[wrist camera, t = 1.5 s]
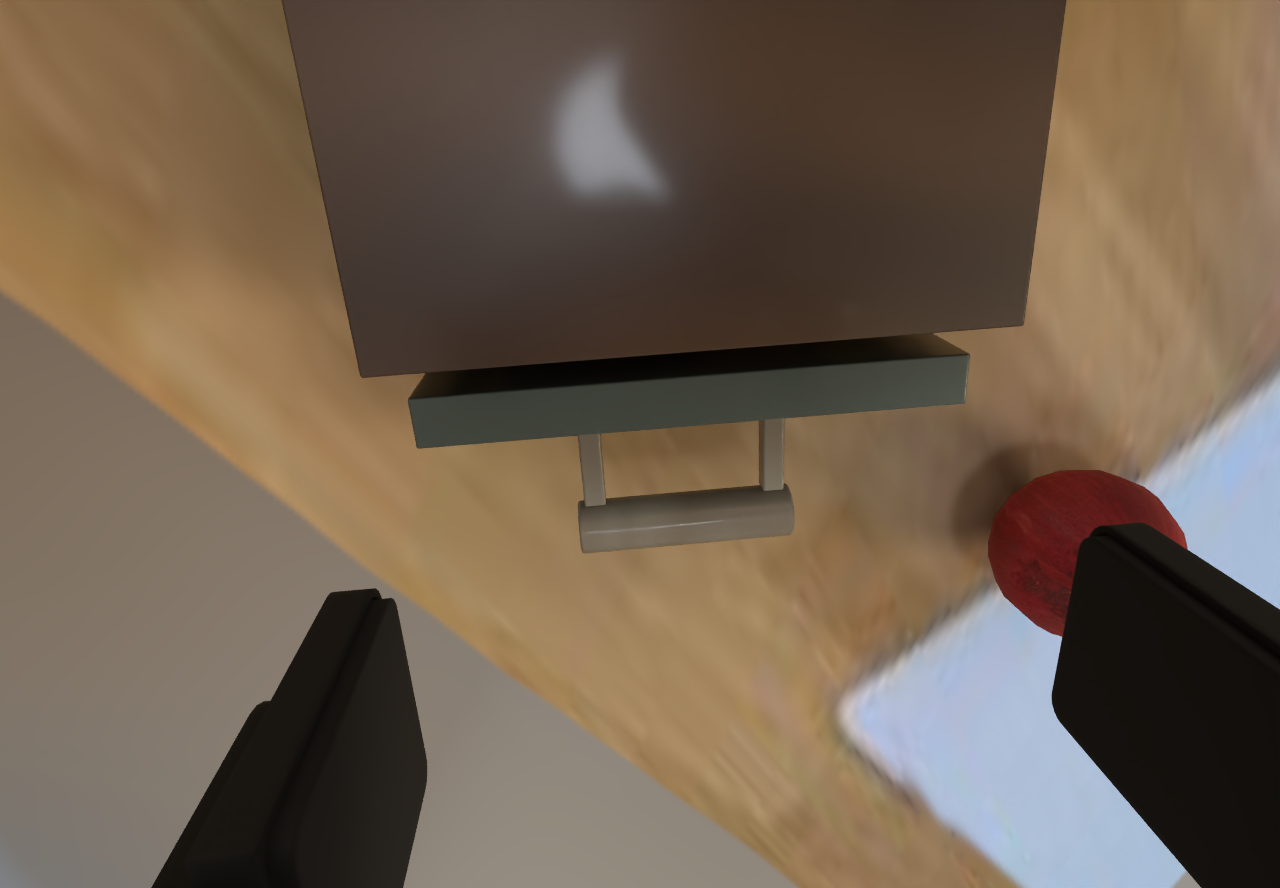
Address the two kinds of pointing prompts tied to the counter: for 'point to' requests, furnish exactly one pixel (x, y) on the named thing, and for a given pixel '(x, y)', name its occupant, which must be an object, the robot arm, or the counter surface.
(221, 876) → the robot arm
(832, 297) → the cabinet
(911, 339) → the drawer
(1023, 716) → the counter surface
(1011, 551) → the onion
